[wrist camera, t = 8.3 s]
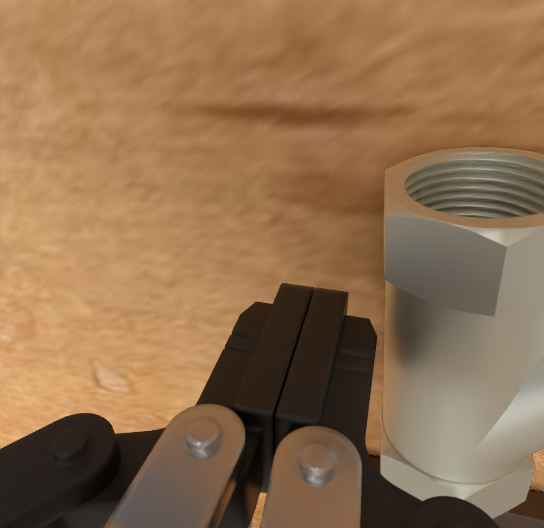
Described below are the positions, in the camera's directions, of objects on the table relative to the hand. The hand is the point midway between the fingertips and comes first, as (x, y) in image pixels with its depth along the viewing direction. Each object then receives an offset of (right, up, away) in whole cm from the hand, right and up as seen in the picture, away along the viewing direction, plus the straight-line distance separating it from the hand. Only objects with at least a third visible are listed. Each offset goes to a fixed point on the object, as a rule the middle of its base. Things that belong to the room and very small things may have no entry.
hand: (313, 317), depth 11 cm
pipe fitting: (+5, 0, +1) cm, 5 cm away
